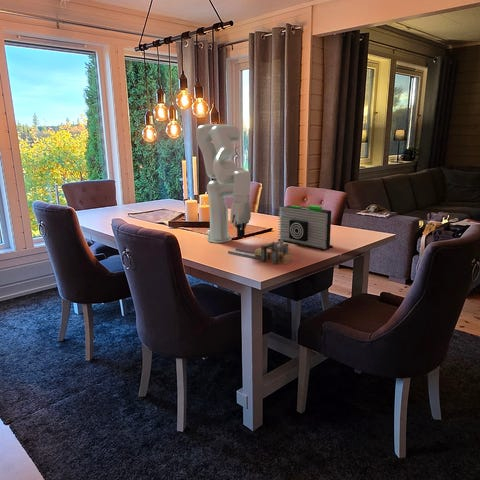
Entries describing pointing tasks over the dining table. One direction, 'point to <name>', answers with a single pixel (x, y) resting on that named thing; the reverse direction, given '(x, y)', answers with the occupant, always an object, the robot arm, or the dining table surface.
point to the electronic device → (305, 226)
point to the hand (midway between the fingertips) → (240, 237)
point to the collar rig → (275, 250)
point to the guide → (244, 254)
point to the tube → (282, 256)
